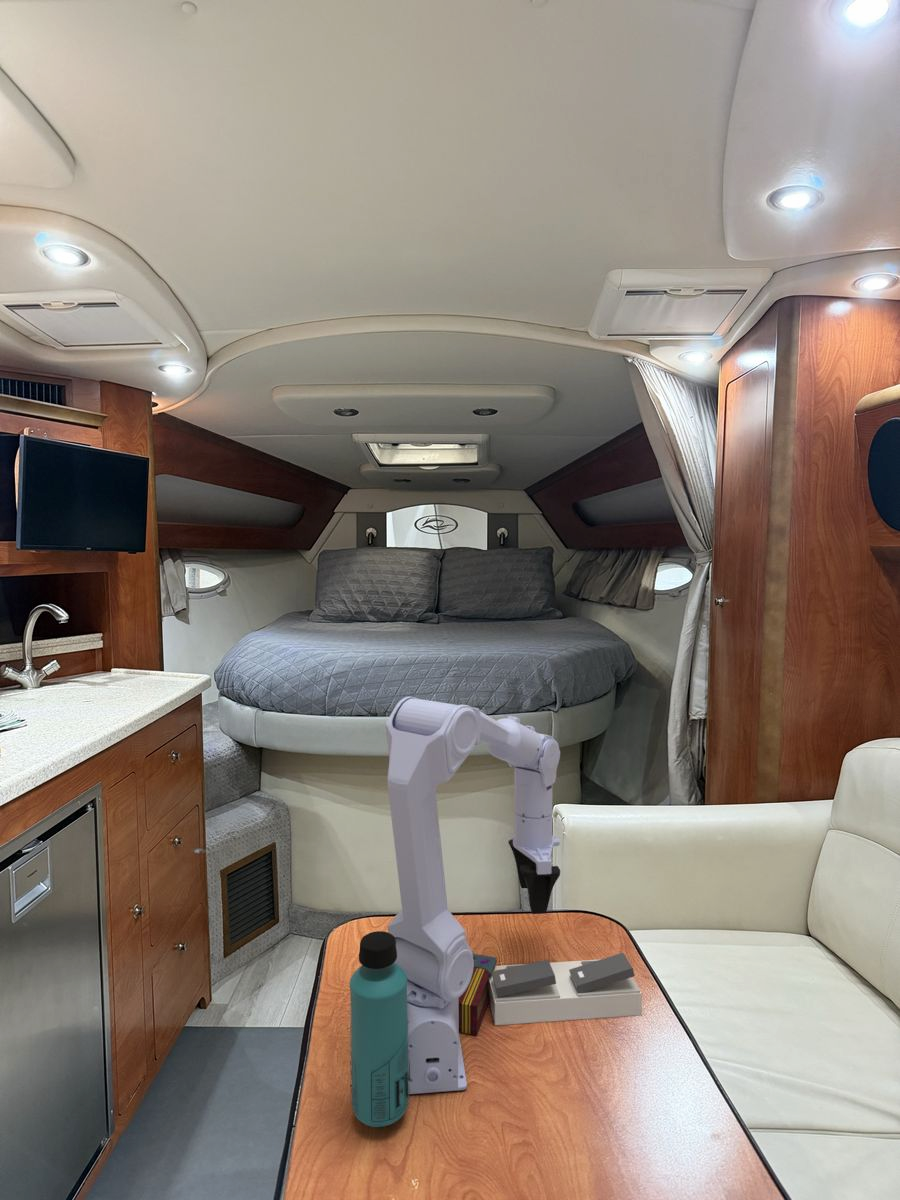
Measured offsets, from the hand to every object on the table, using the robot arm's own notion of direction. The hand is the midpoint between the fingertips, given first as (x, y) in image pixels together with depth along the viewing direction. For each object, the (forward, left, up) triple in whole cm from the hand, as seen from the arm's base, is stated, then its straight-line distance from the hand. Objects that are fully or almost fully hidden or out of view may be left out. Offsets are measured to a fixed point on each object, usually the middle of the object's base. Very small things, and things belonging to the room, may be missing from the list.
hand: (532, 899), depth 99 cm
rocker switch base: (-9, -2, -10) cm, 14 cm away
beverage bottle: (-26, +23, -10) cm, 36 cm away
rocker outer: (-11, -8, -7) cm, 15 cm away
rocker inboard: (-11, +3, -7) cm, 13 cm away
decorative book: (-7, +16, -10) cm, 20 cm away
